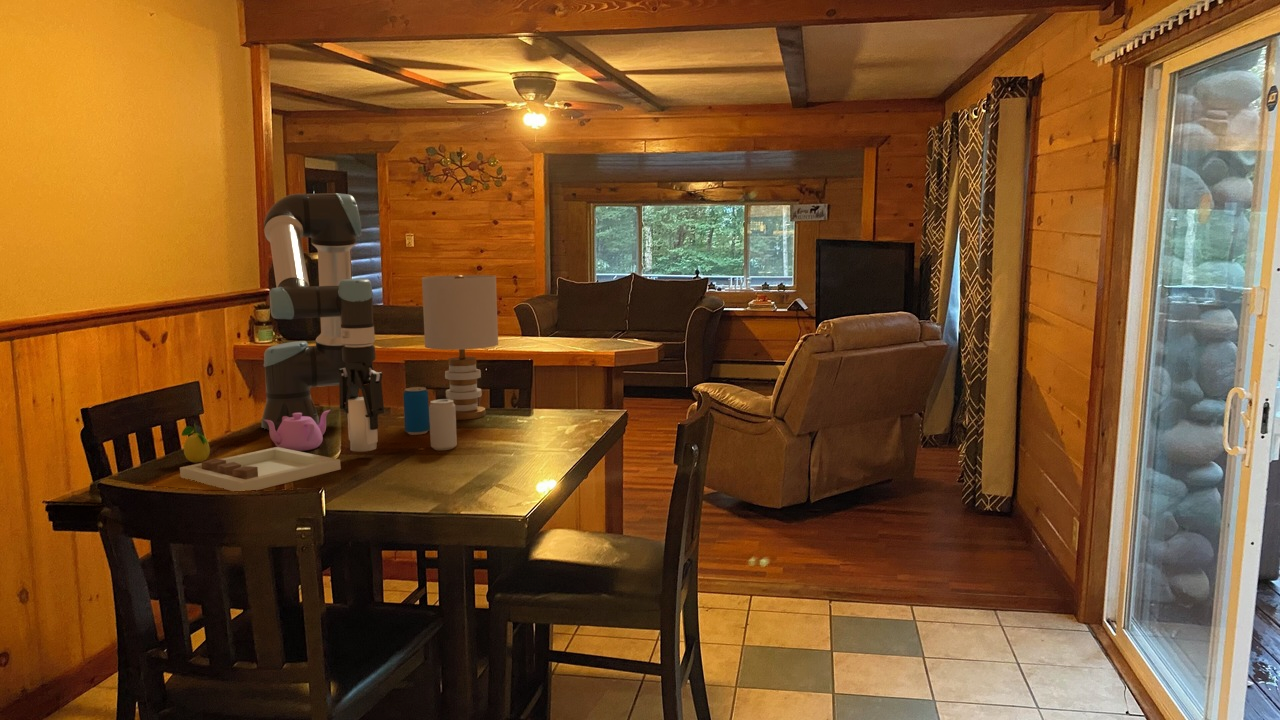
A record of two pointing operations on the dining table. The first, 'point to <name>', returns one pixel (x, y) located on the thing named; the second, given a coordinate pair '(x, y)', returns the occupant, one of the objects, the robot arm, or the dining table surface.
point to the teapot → (298, 432)
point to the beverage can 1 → (416, 410)
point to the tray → (265, 469)
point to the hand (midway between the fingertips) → (363, 440)
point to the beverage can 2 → (442, 424)
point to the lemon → (195, 445)
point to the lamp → (461, 331)
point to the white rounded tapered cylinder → (358, 425)
